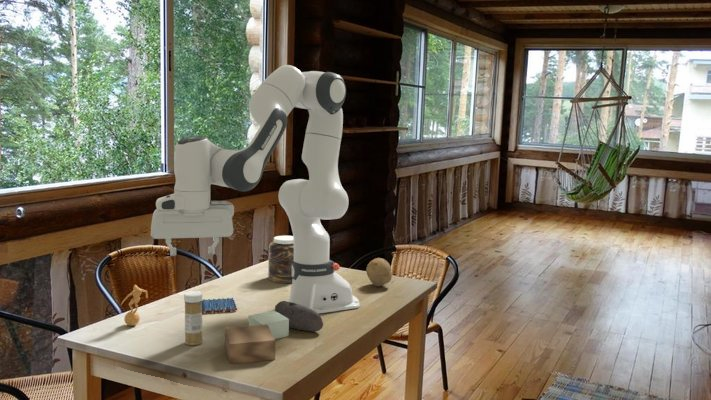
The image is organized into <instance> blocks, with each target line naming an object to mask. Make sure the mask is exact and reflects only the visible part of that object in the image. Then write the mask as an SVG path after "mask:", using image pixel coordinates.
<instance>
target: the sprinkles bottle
mask: <svg viewBox="0 0 711 400" xmlns="http://www.w3.org/2000/svg"><path fill="white" fill-rule="evenodd" d="M183 300H184V332H185V333H184V335H185V341H184V344H186V345H187V346H198V345H200V344H202V343H203V342H204V341H203V313H202V300H203V292H202V291H199V290H197V291H196V290H191V291H187V292H185V293H184V294H183Z"/></svg>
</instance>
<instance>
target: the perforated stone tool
mask: <svg viewBox="0 0 711 400" xmlns="http://www.w3.org/2000/svg"><path fill="white" fill-rule="evenodd" d="M274 311H276V312H278V313H280V314H281V315H283V316H285V317H286V318H288V319H289V329H294V330H299V331H304V332H318V331H320V330H322V329H323V327H324V321H323V319H322V316H321V315H320V314H318V313H317V312H315V311H313V310H312V309H310V308H307V307H305V306H302V305H300V304H296V303H292V302H288V301H287V300H282V301H279V302H278V303H277V304H275V306H274Z"/></svg>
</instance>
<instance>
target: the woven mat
mask: <svg viewBox="0 0 711 400" xmlns="http://www.w3.org/2000/svg"><path fill="white" fill-rule="evenodd" d="M237 311H238V308H237V305H236V302H235V300H234V297H232V298H231V297H230V298H229V297H227V298H224V297H222V298H211V299H210V298H208V299H202V315H206V314H210V313H211V314H217V313H218V314H222V313H223V314H224V313H229V312H230V313H233V312H234V313H236V312H237Z"/></svg>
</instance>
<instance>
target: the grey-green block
mask: <svg viewBox="0 0 711 400" xmlns="http://www.w3.org/2000/svg"><path fill="white" fill-rule="evenodd" d="M259 325H268V327H269V329H270V331H271V333H272V335H273V337H274V339H275V340H276V339H281V338H286V337H289V334H290V330H289V329H290V328H289V319H288V318H286V317H285V316H283V315H281V314H280V313H278V312H276V311H275V310H272V311H265V312H261V313H260V312H259V313H255V314H250V315H248V326H259Z"/></svg>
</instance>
